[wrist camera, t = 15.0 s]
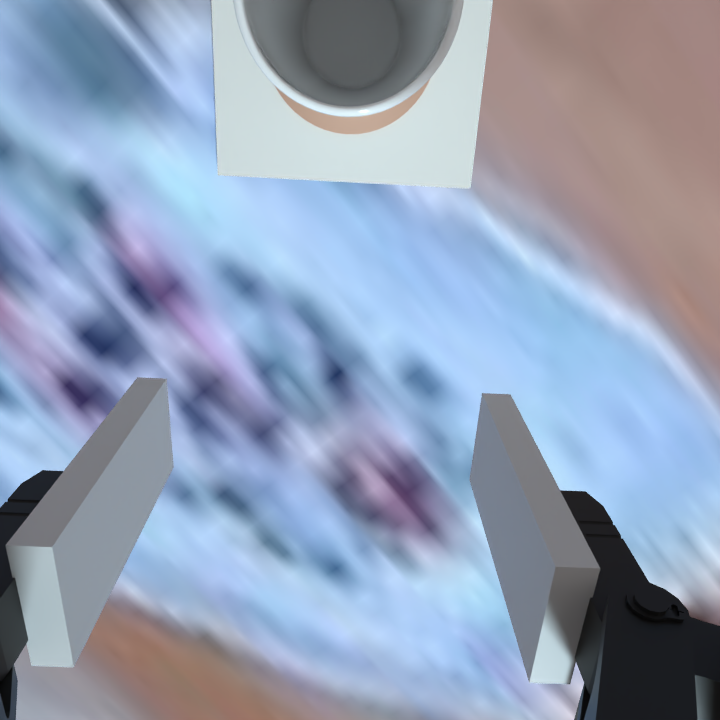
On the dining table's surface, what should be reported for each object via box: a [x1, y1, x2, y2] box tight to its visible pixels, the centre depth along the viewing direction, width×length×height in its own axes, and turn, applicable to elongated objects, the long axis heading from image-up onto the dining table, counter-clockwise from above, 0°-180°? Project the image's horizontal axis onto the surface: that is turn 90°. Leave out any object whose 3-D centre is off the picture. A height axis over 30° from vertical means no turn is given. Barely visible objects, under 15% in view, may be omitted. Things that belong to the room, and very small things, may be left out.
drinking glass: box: [233, 0, 464, 118], centre depth 24 cm, size 7×7×15 cm
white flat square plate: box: [211, 0, 493, 189], centre depth 31 cm, size 14×14×1 cm
